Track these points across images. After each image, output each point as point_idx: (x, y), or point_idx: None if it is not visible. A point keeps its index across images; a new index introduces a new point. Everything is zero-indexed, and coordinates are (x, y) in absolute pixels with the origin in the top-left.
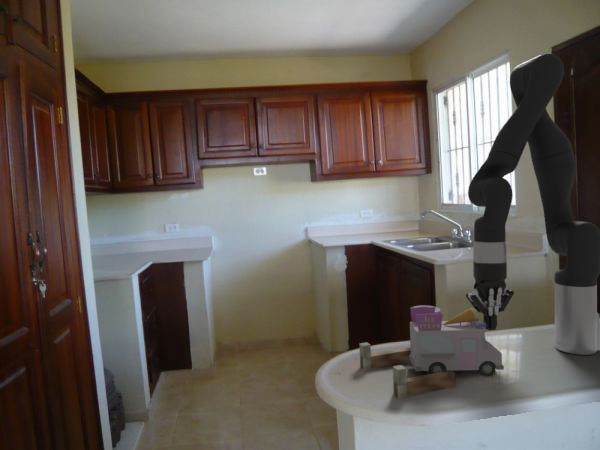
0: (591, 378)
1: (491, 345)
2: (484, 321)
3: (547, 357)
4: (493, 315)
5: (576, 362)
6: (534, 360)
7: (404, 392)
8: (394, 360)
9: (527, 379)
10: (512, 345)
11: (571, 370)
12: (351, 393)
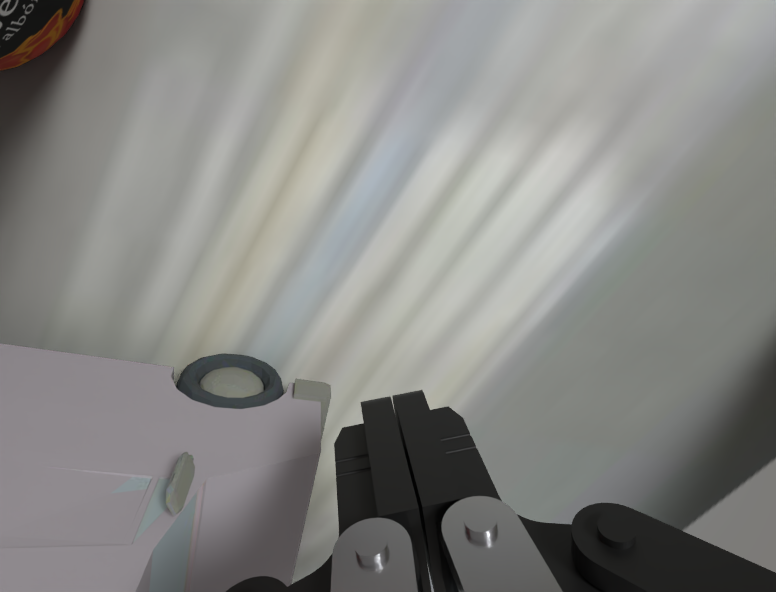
0: None
1: (283, 535)
2: (339, 484)
3: (693, 330)
4: (441, 589)
5: (750, 413)
6: (597, 354)
7: None
8: None
9: None
10: (692, 79)
11: (644, 484)
12: None
